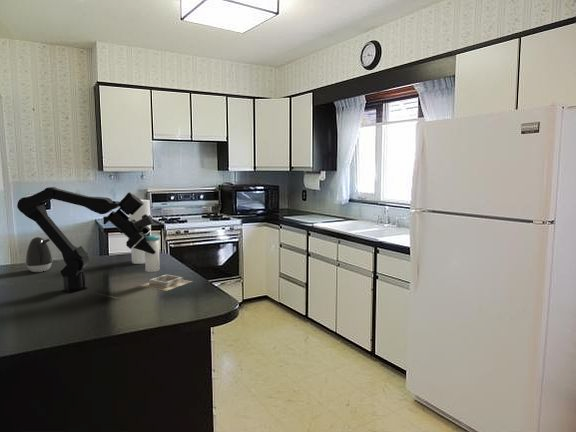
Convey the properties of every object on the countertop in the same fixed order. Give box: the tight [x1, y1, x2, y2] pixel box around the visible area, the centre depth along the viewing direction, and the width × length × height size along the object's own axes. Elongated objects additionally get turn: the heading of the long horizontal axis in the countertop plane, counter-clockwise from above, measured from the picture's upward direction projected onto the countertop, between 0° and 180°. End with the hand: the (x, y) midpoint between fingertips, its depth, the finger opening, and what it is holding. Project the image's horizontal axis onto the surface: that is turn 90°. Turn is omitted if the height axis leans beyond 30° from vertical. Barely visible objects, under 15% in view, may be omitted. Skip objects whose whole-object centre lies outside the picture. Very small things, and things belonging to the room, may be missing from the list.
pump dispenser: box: [25, 236, 53, 273], centre depth 181 cm, size 10×10×15 cm
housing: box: [139, 274, 194, 292], centre depth 159 cm, size 14×14×2 cm
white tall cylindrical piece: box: [144, 234, 161, 272], centre depth 157 cm, size 6×6×13 cm
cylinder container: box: [128, 198, 152, 265], centre depth 197 cm, size 9×9×30 cm
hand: (155, 251), depth 157 cm, fingers closed on white tall cylindrical piece, 5 cm apart
